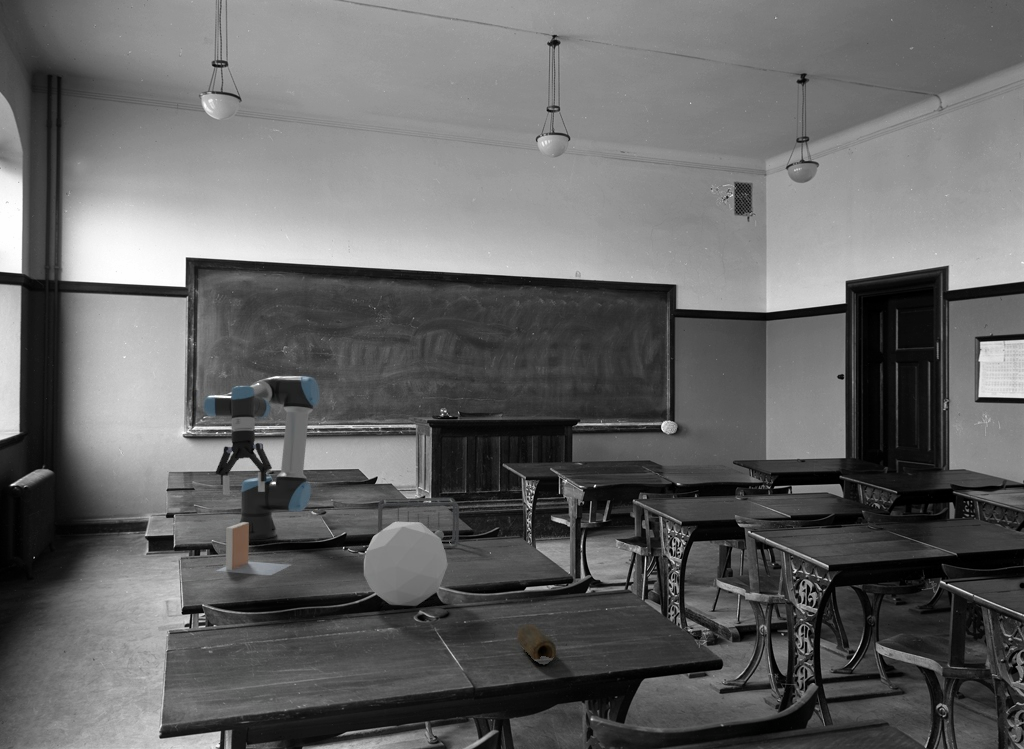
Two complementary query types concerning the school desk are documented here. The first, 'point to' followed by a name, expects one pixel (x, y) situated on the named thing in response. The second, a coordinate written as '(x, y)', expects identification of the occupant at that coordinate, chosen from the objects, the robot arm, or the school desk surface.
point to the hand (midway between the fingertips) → (243, 493)
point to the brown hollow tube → (535, 642)
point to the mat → (257, 568)
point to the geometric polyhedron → (405, 563)
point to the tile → (237, 545)
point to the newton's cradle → (438, 532)
